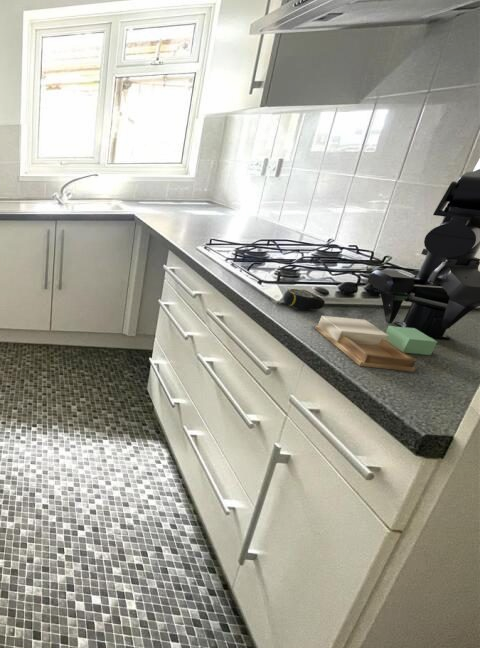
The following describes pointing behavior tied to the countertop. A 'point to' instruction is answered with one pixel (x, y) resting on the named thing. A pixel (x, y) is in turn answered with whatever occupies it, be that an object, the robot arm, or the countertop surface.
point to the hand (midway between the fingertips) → (416, 325)
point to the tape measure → (303, 299)
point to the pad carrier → (364, 343)
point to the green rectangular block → (410, 340)
